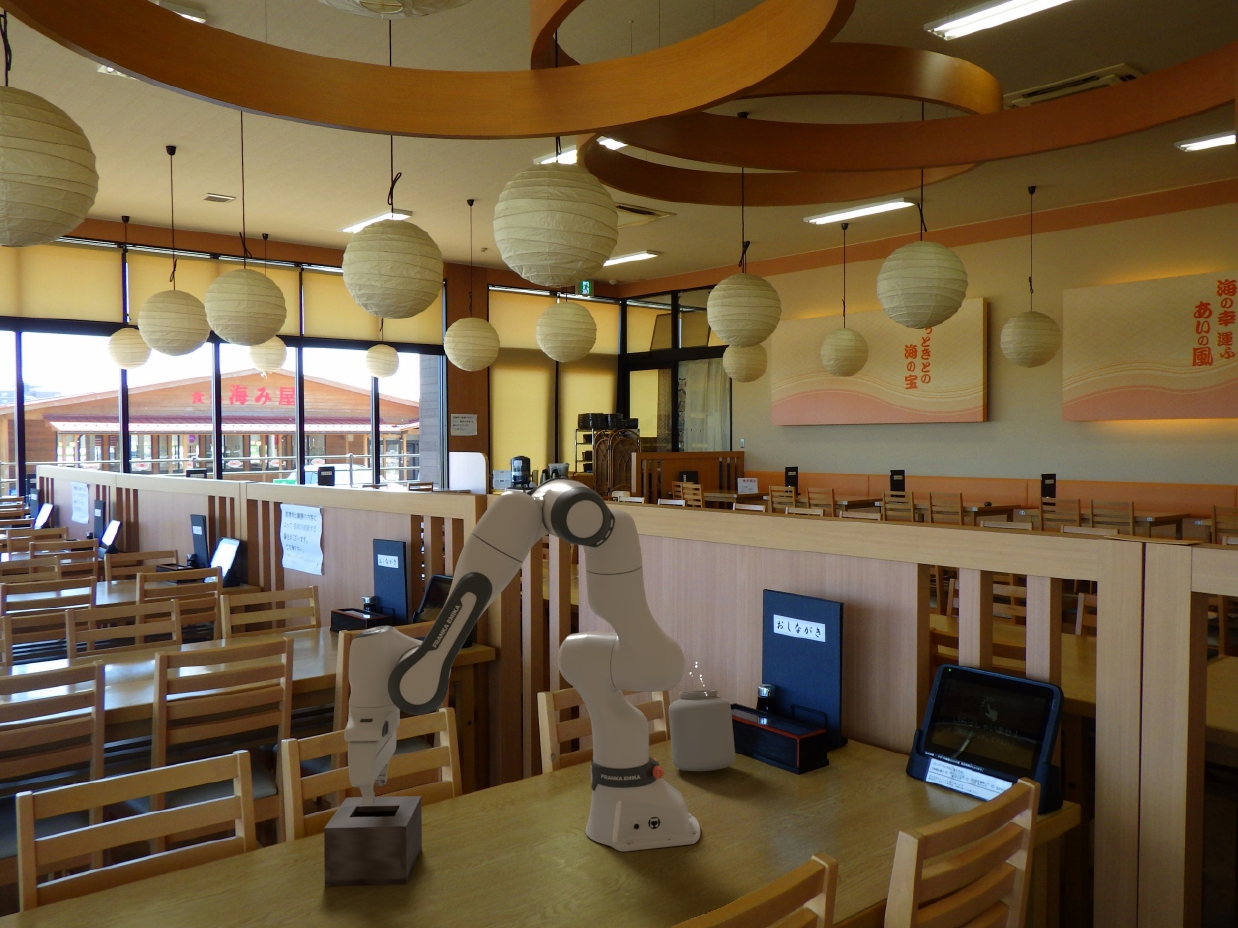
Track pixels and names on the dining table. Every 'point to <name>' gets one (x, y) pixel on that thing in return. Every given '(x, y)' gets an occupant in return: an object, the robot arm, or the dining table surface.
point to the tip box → (373, 841)
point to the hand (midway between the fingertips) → (375, 793)
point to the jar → (701, 731)
